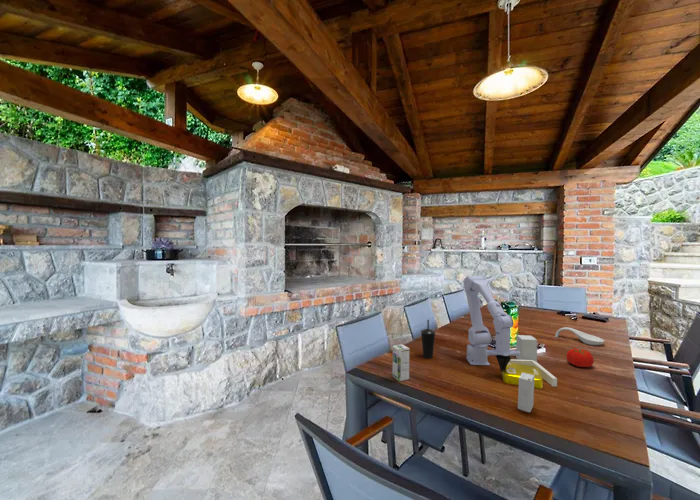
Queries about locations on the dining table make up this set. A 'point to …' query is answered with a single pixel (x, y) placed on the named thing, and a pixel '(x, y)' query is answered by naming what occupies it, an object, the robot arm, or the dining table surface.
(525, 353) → the supplement box
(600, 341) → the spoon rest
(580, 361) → the tomato
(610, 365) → the dining table surface
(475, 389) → the dining table surface
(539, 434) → the dining table surface
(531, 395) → the skincare box
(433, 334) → the drinking cup
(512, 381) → the element tile
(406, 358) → the syrup box
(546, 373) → the white l-shaped strip
